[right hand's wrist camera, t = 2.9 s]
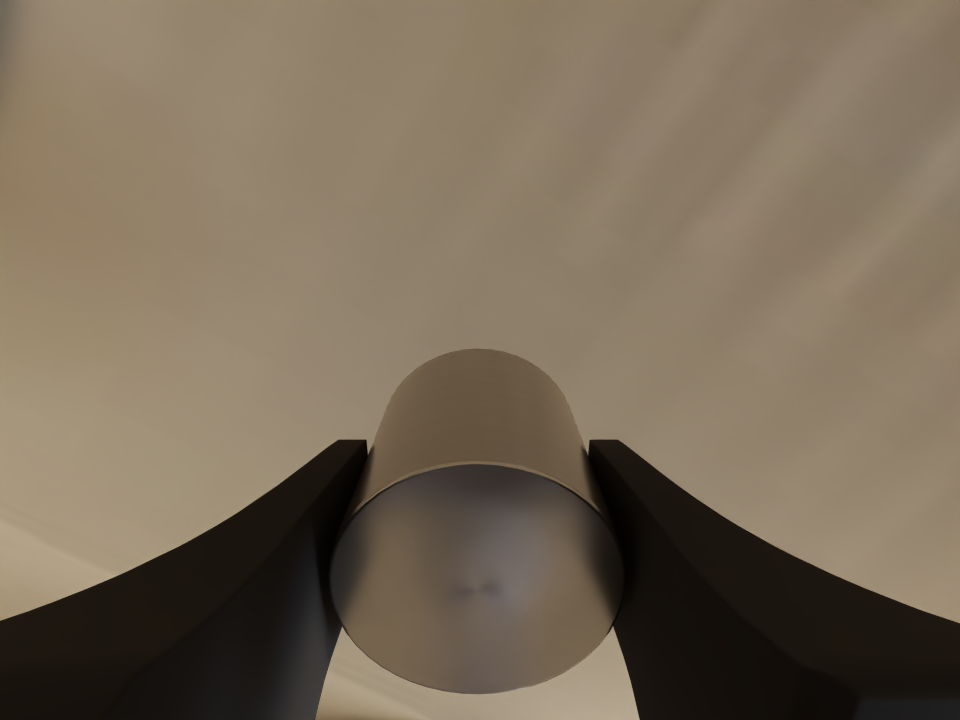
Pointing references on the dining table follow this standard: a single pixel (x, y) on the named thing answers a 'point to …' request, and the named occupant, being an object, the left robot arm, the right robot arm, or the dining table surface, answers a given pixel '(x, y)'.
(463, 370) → the canister
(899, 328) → the dining table surface
